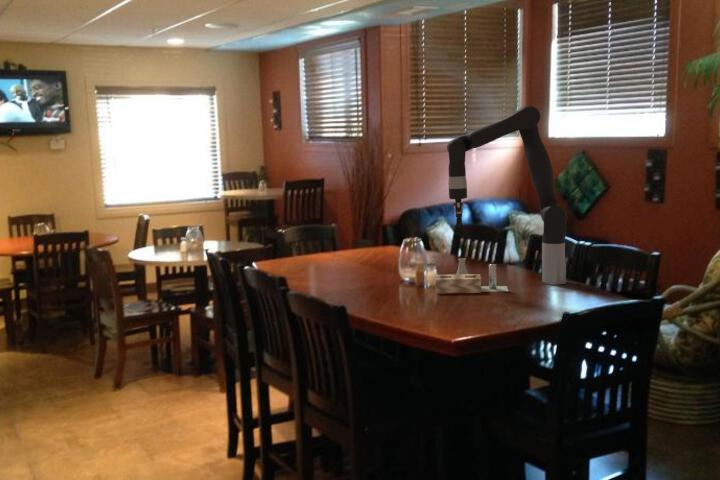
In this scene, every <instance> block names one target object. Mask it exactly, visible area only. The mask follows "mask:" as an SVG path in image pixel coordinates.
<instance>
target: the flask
mask: <svg viewBox="0 0 720 480" xmlns="http://www.w3.org/2000/svg"><path fill="white" fill-rule="evenodd" d="M466 260H467V259H466V258H465V257H464V258H463V257H461V258H458V267H457V271H456V274H469V273H468V269H467V266H466Z"/></svg>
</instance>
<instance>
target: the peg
mask: <svg viewBox="0 0 720 480" xmlns="http://www.w3.org/2000/svg"><path fill="white" fill-rule="evenodd" d="M488 286H489V289H497V287H496V286H497V264H496V263H490V264H488Z"/></svg>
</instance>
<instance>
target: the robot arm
mask: <svg viewBox="0 0 720 480" xmlns="http://www.w3.org/2000/svg"><path fill="white" fill-rule="evenodd" d="M540 120H541V113H540V110H539V109H538V108H537V107H535V106H532V105H526V106H521V107H520V108H518V110H516V111H515V113H513V114H512V115H511V116H508V117H506V118H504V119H501V120H499V121H496V122H493V123H490V124H487V125H484V126H482V127H480V128H479V127H478V128H476V129H475V130H473V131H470V132H469V133H466V134H464V135H461V136H458V137H455V138H452V139H451V140H450V141H449V142H448V143H447V145H446V151H447V152H448V197H449V200H454V202H453V208H454V209H453V210H454V214H455V218H456V220H455V221H456V227H457V228H462V227H463V219H462V218H463V214H464V202H462V200H465V199H467V198H468V186H467V185H468V183H467V182H468V181H467V175H466V173H467V172H466V171H467V169H466V152H469V151H471V150H472V149H473V150H474V149H477V148H480V147H482V146H483V147H484V145H488V144H490V143H491V142H494V141H496V140H499V139H500V138H503V137H504V136H507V135H510V134H512V133H515V132H517V131H518V132H519V134H520V137H521V140H522V144H523V149H524V154H525V159H526V162H527V167H528V171H529V174H530V179H531V182H532V184H533V187H534V190H535V192H536V195H537V200H538V205H539V212H540V218H541V220H542V222H543V233H542V237H541V261H542V262H541V264H542V265H541V266H542V267H541V268H542V269H541V271H542V273H541V279H542V280H541V283H542V284H544V285H551V286H552V285H555V286H556V285H557V286H558V285H564V284H565V285H566V284H567V277H566V276H567V267H566V265H567V262H566V252H565V251H566V236H567V212H566V210H565V208H563V207H562V205H561V206H560V203H559V200H558V198H557V195H556V191H555V180H554V179H555V178H554V170H553V165H552V161H551V159H550V155H549V153H548V150H547V149H546V146H545V144H544V143H543V141H542V138H541V136H540V133H539V126H538V124H539V122H540Z"/></svg>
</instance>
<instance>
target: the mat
mask: <svg viewBox="0 0 720 480" xmlns="http://www.w3.org/2000/svg"><path fill="white" fill-rule="evenodd" d="M496 287H497V289H489V285H483V286H482V285H481V293H482V292H486V293H487V292H489V293H490V292H509V289H508V286H507V285H496Z"/></svg>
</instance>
